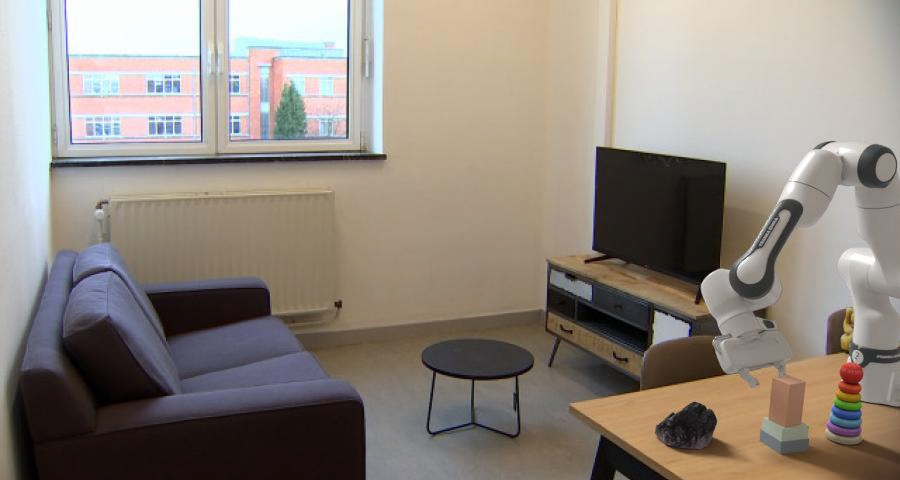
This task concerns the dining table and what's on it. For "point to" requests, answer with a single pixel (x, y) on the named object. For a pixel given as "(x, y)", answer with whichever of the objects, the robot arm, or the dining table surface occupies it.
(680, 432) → the crystal cluster
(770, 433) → the two-tone pastel block
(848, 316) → the decorative figurine
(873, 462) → the dining table surface
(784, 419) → the terracotta brick
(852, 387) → the stacking toy
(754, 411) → the dining table surface
